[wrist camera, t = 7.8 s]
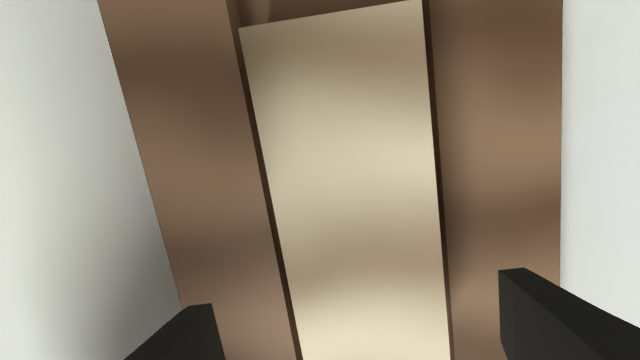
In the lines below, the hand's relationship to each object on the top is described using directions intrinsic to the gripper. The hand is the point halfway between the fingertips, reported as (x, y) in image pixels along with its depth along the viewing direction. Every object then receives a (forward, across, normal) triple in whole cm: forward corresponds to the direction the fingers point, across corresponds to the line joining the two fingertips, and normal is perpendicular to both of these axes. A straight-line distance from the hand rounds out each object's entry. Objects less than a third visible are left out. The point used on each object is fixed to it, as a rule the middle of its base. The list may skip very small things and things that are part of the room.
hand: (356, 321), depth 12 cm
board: (+10, 0, +2) cm, 11 cm away
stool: (+9, 0, 0) cm, 9 cm away
